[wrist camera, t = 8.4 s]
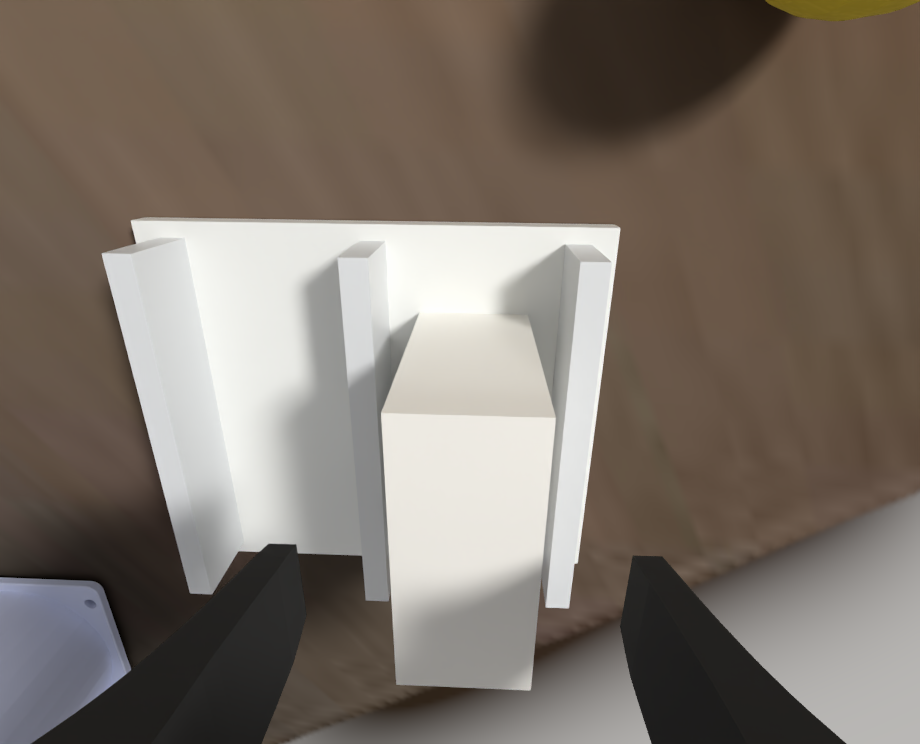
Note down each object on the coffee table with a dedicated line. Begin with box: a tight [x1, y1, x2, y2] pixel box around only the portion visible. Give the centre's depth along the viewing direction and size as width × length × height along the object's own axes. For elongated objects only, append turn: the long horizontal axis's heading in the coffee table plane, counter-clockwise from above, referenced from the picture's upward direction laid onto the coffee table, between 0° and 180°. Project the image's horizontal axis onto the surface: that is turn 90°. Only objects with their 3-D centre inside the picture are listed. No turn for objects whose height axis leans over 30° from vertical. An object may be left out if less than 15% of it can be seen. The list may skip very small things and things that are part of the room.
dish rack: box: [102, 217, 620, 608], centre depth 18 cm, size 13×15×4 cm
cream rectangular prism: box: [381, 313, 556, 690], centre depth 15 cm, size 4×8×7 cm, turn 179°
